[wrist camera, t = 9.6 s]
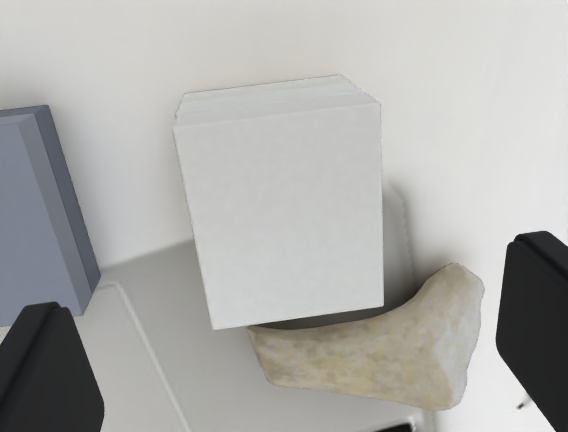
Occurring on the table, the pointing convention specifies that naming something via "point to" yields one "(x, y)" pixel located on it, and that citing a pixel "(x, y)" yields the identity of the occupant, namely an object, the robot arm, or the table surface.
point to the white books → (266, 94)
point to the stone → (386, 347)
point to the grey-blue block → (40, 220)
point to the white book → (285, 207)
